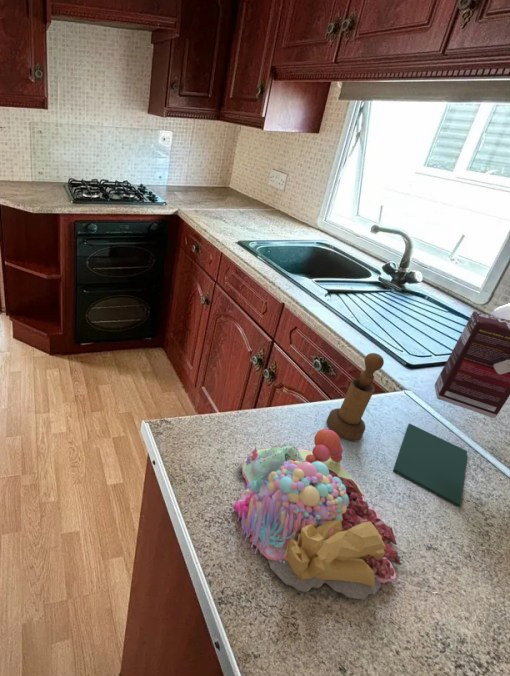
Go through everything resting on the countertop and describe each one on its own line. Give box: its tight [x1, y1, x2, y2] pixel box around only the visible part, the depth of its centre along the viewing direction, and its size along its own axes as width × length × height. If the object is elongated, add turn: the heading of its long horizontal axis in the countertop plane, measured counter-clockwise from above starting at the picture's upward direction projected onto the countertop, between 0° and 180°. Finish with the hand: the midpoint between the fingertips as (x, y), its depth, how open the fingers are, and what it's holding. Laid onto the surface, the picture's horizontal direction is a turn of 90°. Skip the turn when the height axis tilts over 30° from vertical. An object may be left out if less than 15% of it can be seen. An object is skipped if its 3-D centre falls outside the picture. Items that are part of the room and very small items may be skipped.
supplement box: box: [433, 310, 510, 419], centre depth 67 cm, size 9×5×16 cm, turn 61°
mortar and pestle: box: [326, 352, 385, 442], centre depth 77 cm, size 7×6×18 cm
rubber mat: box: [392, 423, 468, 508], centre depth 75 cm, size 16×10×1 cm, turn 139°
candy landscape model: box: [233, 428, 401, 601], centre depth 61 cm, size 25×24×9 cm
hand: (485, 357), depth 67 cm, fingers closed on supplement box, 5 cm apart
